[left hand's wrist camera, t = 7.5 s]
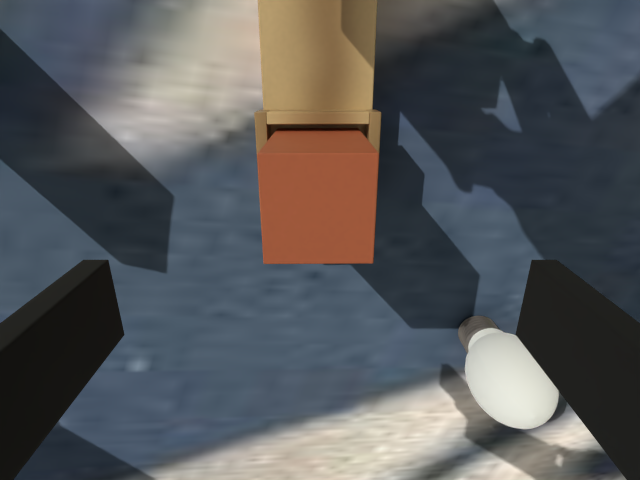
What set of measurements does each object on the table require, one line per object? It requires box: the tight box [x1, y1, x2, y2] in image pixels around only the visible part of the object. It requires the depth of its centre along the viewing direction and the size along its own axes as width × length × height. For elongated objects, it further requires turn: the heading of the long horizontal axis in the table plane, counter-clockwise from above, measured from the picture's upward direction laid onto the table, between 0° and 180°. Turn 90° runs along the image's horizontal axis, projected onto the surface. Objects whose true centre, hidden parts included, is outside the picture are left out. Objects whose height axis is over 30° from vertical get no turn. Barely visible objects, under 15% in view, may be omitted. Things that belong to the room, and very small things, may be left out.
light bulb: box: [458, 316, 559, 429], centre depth 35 cm, size 7×7×11 cm
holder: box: [254, 0, 381, 230], centre depth 24 cm, size 9×28×13 cm, turn 0°
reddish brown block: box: [257, 128, 379, 264], centre depth 26 cm, size 6×6×11 cm
